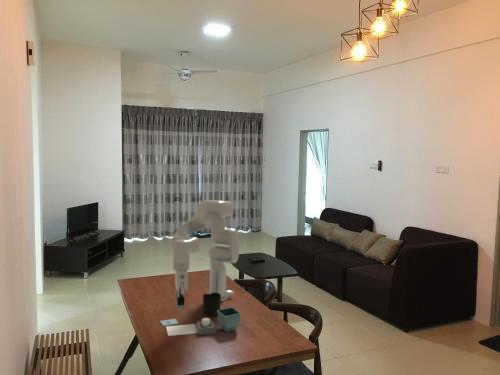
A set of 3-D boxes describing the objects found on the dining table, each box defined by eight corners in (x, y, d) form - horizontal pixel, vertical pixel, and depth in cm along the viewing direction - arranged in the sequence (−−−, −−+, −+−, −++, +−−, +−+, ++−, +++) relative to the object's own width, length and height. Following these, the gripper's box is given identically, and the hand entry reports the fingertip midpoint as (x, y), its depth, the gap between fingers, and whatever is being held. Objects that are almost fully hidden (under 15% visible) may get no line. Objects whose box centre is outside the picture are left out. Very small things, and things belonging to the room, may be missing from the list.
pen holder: (217, 317, 213) (218, 299, 212) (200, 315, 214) (200, 297, 214) (222, 311, 222) (222, 293, 221) (205, 309, 224) (206, 291, 223)
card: (175, 319, 209) (175, 318, 209) (178, 323, 204) (178, 322, 204) (159, 321, 206) (159, 320, 206) (162, 326, 200) (162, 325, 200)
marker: (183, 305, 196) (183, 284, 195) (184, 307, 193) (184, 286, 192) (176, 305, 195) (176, 284, 194) (177, 308, 192) (177, 287, 191)
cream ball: (208, 324, 199) (209, 317, 199) (210, 327, 196) (210, 320, 195) (200, 325, 198) (201, 318, 198) (202, 328, 194) (202, 321, 194)
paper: (194, 324, 203) (194, 323, 203) (198, 333, 194) (198, 332, 194) (166, 327, 199) (166, 326, 199) (168, 336, 190) (168, 335, 190)
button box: (212, 326, 202) (212, 320, 202) (215, 333, 194) (215, 327, 194) (195, 327, 200) (196, 321, 199) (198, 335, 192) (198, 328, 192)
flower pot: (224, 334, 193) (225, 316, 192) (216, 327, 201) (216, 310, 200) (240, 331, 198) (241, 313, 197) (231, 324, 205) (232, 306, 205)
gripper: (191, 270, 186) (190, 309, 187) (186, 260, 202) (185, 297, 203) (175, 270, 184) (174, 310, 185) (171, 261, 199) (170, 298, 201)
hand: (180, 303), depth 194 cm, fingers closed on marker, 3 cm apart
